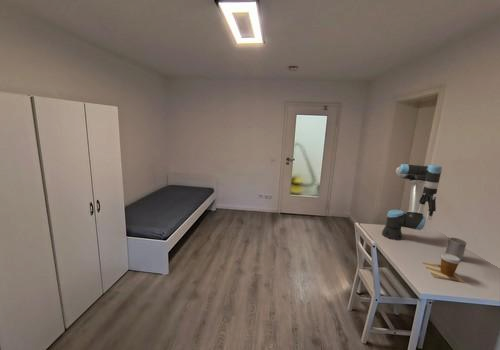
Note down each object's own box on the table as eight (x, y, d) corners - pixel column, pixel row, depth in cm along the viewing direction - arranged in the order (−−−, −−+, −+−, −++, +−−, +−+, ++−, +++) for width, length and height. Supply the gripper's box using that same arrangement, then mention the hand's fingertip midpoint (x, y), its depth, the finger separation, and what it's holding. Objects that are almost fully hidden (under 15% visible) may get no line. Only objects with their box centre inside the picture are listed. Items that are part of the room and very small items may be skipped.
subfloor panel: (422, 262, 161) (422, 261, 161) (449, 267, 157) (449, 266, 156) (433, 277, 145) (433, 276, 145) (464, 283, 141) (464, 281, 140)
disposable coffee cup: (434, 268, 154) (438, 251, 151) (450, 270, 152) (454, 254, 149) (442, 276, 145) (446, 259, 142) (460, 279, 143) (464, 262, 140)
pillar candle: (444, 252, 176) (448, 234, 173) (461, 256, 171) (465, 238, 168) (445, 258, 169) (450, 239, 166) (463, 262, 163) (468, 243, 160)
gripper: (417, 183, 171) (412, 209, 175) (432, 191, 147) (426, 222, 152) (429, 184, 169) (423, 211, 173) (446, 192, 145) (439, 223, 150)
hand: (424, 216), depth 162 cm, fingers open, 13 cm apart
